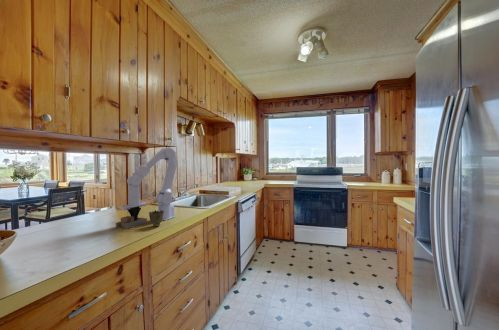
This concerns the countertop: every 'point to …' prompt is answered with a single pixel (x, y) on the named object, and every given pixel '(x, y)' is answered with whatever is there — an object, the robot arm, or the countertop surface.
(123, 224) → the walnut block
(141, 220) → the channel
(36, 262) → the countertop surface
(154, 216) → the cup
